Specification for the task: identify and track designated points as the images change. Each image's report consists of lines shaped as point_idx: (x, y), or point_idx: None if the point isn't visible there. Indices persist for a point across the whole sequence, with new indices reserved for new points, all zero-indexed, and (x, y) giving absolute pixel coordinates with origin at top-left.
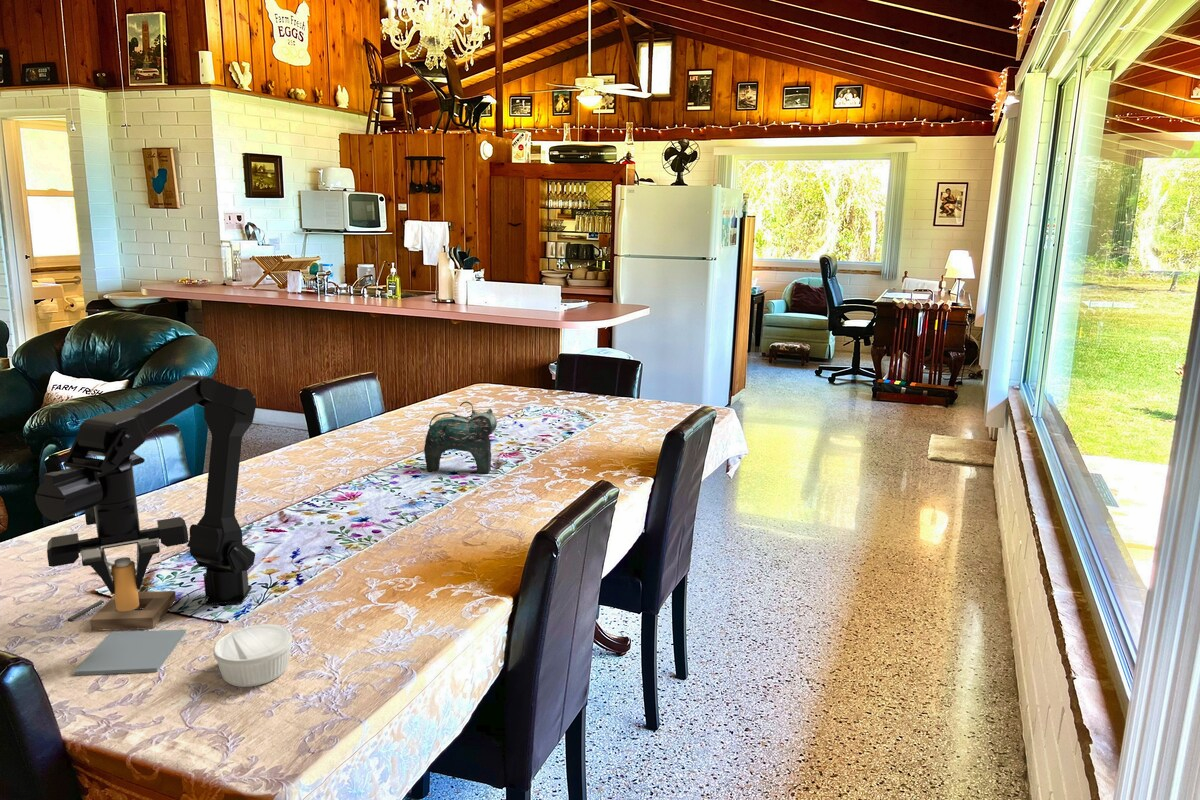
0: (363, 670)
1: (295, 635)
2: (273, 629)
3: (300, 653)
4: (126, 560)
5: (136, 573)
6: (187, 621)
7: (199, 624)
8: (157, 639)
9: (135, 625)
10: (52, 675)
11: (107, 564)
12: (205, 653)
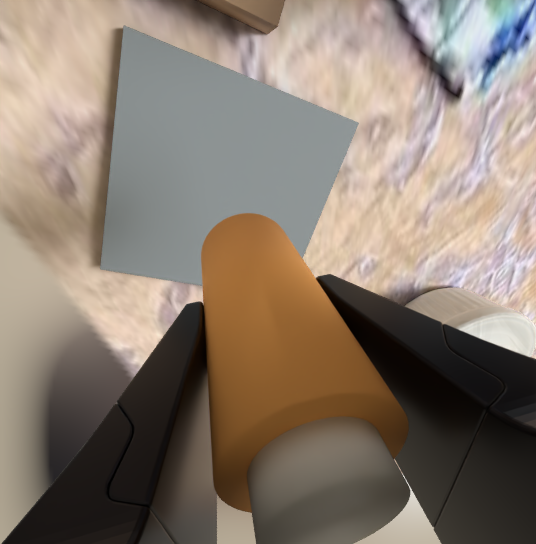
0: (533, 352)
1: (530, 230)
2: (519, 337)
3: (501, 294)
4: (370, 518)
5: (358, 336)
6: (368, 28)
7: (394, 75)
8: (285, 160)
9: (209, 3)
10: (38, 249)
11: (181, 530)
12: (374, 249)
